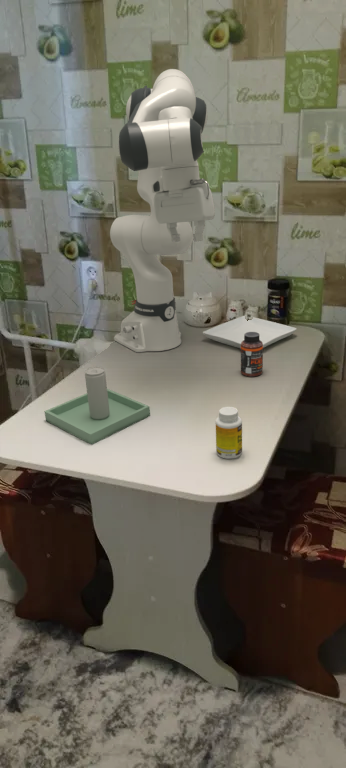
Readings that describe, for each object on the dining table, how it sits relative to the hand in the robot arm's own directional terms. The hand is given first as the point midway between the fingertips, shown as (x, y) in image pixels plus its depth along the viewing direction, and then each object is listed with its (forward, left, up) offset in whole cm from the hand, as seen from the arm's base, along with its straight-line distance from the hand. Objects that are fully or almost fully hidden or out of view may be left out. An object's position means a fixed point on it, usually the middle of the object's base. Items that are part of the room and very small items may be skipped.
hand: (186, 241), depth 156 cm
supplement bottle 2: (+7, +15, -38) cm, 42 cm away
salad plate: (-10, +35, -39) cm, 53 cm away
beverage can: (-4, -28, -38) cm, 47 cm away
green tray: (-5, -29, -38) cm, 48 cm away
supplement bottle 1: (+30, -21, -38) cm, 53 cm away
